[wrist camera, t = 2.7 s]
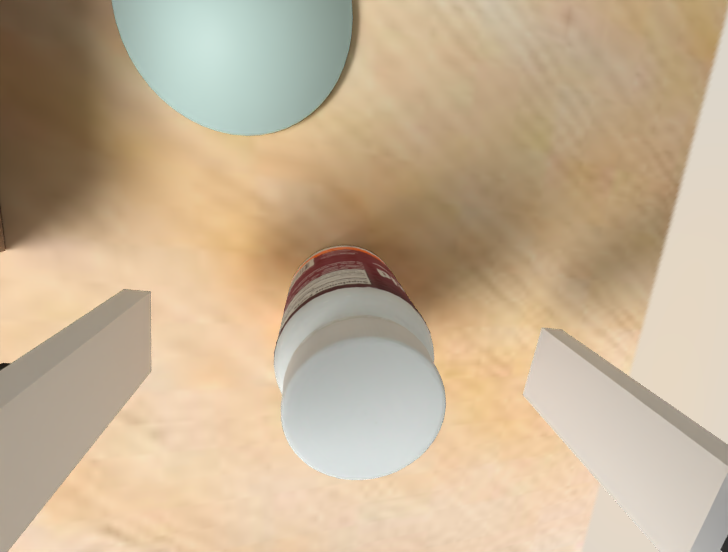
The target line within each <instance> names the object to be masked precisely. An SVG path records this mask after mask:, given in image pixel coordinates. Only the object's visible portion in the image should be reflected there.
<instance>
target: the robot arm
mask: <svg viewBox="0 0 728 552" xmlns="http://www.w3.org/2000/svg"><path fill="white" fill-rule="evenodd" d="M150 372H151V292H150V291H139V290H128V289H123V290H122V291H120V292H119V293H117V294H116V295H114V296H113V297H111V298H110V299H108V300H107V301H105V302H104V303H102V304H101V305H99V306H98V307H96V308H95V309H93V310H92V311H90V312H89V313H87V314H85V315H84V316H82V317H81V318H79V319H78V320H76V321H75V322H73V323H72V324H70V325H69V326H67V327H66V328H64V329H63V330H61V331H60V332H58V333H57V334H55V335H54V336H52V337H51V338H49V339H48V340H46V341H44V342H43V343H41V344H40V345H38V346H37V347H35V348H34V349H32V350H31V351H29V352H28V353H26V354H25V355H23V356H22V357H20V358H19V359H17V360H16V361H14V362H13V363H11V364H10V363H2V364H0V552H8V551H9V549H10V548H11V547H12V546H13V544H14V543H15V542H16V541H17V539H18V538H19V537H20V536H21V534H22V533H23V532H24V531H25V529H26V528H27V527H28V526H29V524H30V523H31V522H32V520H33V519H34V518H35V517H36V515H37V514H38V513H39V512H40V510H41V509H42V508H43V507H44V505H45V504H46V503H47V502H48V500H49V499H50V498H51V497H52V495H53V494H54V493H55V492H56V490H57V489H58V488H59V487H60V485H61V484H62V483H63V482H64V480H65V479H66V478H67V477H68V475H69V474H70V473H71V471H72V470H73V469H74V468H75V466H76V465H77V464H78V463H79V461H80V460H81V459H82V458H83V456H84V455H85V454H86V453H87V451H88V450H89V449H90V448H91V446H92V445H93V444H94V443H95V441H96V440H97V439H98V438H99V436H100V435H101V434H102V433H103V431H104V430H105V429H106V428H107V426H108V425H109V424H110V422H111V421H112V420H113V419H114V417H115V416H116V415H117V414H118V412H119V411H120V410H121V409H122V407H123V406H124V405H125V404H126V402H127V401H128V400H129V399H130V397H131V396H132V395H133V394H134V392H135V391H136V390H137V389H138V387H139V386H140V385H141V384H142V382H143V381H144V380H145V379H146V377H147V376H148V375H149V373H150ZM523 396H524V397H525V398H526V399H527V400H528V402H529V403H530V404H531V405H532V406H533V407H534V408H535V410H536V411H537V412H538V413H539V414H540V415H541V416H542V418H543V419H544V420H545V421H546V422H547V423H548V424H549V426H550V427H551V428H552V429H553V430H554V431H555V432H556V434H557V435H558V436H559V437H560V438H561V439H562V440H563V442H564V443H565V444H566V445H567V446H568V447H569V449H570V450H571V451H572V452H573V453H574V454H575V455H576V457H577V458H578V459H579V460H580V461H581V462H582V463H583V465H584V466H585V467H586V468H587V469H588V470H589V471H590V473H591V474H592V475H593V476H594V477H595V478H596V479H597V481H598V482H599V483H600V484H601V485H602V486H603V487H604V488H605V490H606V491H607V492H608V493H609V494H610V495H611V497H612V498H613V499H614V500H615V501H616V502H617V504H618V505H619V506H620V507H621V508H622V509H623V510H624V512H625V513H626V514H627V515H628V516H629V517H630V518H631V519H632V521H633V522H634V523H635V524H636V525H637V526H638V528H639V529H640V530H641V531H642V532H643V533H644V534H645V536H646V537H647V538H648V539H649V540H650V541H651V542H652V543H653V545H654V546H655V547H656V548H657V549H658V551H659V552H721V551H722V552H728V444H726V443H724V442H723V441H722V440H720V439H719V438H717V437H716V436H715V435H713V434H712V433H710V432H709V431H707V430H706V429H704V428H703V427H702V426H700V425H699V424H697V423H696V422H694V421H693V420H691V419H690V418H689V417H687V416H686V415H684V414H683V413H681V412H680V411H678V410H677V409H675V408H674V407H673V406H671V405H670V404H668V403H667V402H666V401H664V400H663V399H661V398H660V397H658V396H657V395H655V394H654V393H652V392H651V391H650V390H648V389H647V388H645V387H644V386H642V385H641V384H640V383H638V382H637V381H635V380H634V379H632V378H631V377H629V376H628V375H627V374H625V373H624V372H622V371H621V370H619V369H618V368H616V367H615V366H614V365H612V364H611V363H609V362H608V361H606V360H605V359H604V358H602V357H601V356H599V355H598V354H596V353H595V352H593V351H592V350H591V349H589V348H588V347H586V346H585V345H583V344H582V343H580V342H579V341H578V340H576V339H575V338H573V337H572V336H570V335H569V334H567V333H566V332H565V331H563V330H562V329H552V328H542V329H541V333H540V336H539V340H538V343H537V347H536V350H535V354H534V357H533V361H532V364H531V368H530V371H529V375H528V378H527V382H526V385H525V389H524V392H523Z"/></svg>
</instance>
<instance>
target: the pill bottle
mask: <svg viewBox="0 0 728 552" xmlns="http://www.w3.org/2000/svg"><path fill="white" fill-rule="evenodd" d="M274 370H275V375H276V380H277V383H278V386H279V389H280V391H281V393H282V401H281V422H282V427H283V431H284V434H285V436H286V439H287V441H288V443H289V445H290V446H291V448H292V449H293V451H294V452H295V453H296V454H297V455H298V457H299V458H300V459H302V460H303V461H304V462H305V463H306V464H307V465H309V466H310V467H312V468H313V469H315V470H317V471H319V472H321V473H324V474H326V475H329V476H333V477H336V478H339V479H349V480H364V479H374V478H379V477H382V476H386V475H389V474H392V473H394V472H397V471H399V470H401V469H402V468H404V467H406V466H407V465H409V464H411V463H412V462H414V461H415V460H416V459H418V458H419V457H420V456H421V455H422V454H423V453H424V452H425V451H426V450H427V449H428V448H429V446H430V445H431V444H432V443H433V441H434V440H435V438H436V436H437V434H438V432H439V430H440V428H441V426H442V423H443V420H444V415H445V408H446V398H445V390H444V385H443V382H442V379H441V376H440V374H439V372H438V370H437V368H436V366H435V364H434V349H433V343H432V339H431V336H430V331H429V329H428V327H427V325H426V322H425V321H424V319H423V318H422V316H421V314H420V313H419V312H418V311H417V309H416V308H415V307H414V305H413V304H412V302H411V301H410V299H409V298H408V296H407V294H406V293H405V291H404V290H403V288H402V287H401V285H400V284H399V282H398V281H397V279H396V278H395V276H394V275H393V274H392V272H391V271H390V269H389V268H388V267H387V265H386V264H385V263H384V262H383V261H382V260H381V259H380V258H379V257H378V256H377V255H375V254H373V253H372V252H370V251H368V250H366V249H363V248H360V247H356V246H344V245H342V246H333V247H329V248H325V249H323V250H320V251H318V252H316V253H314V254H313V255H312V256H310V257H309V258H308V259H306V260H305V261H304V262H303V263H302V265H301V266H300V267H299V268H298V270H297V271H296V273H295V275H294V277H293V279H292V282H291V285H290V288H289V292H288V296H287V301H286V305H285V308H284V314H283V318H282V322H281V327H280V331H279V336H278V340H277V342H276V347H275V351H274Z"/></svg>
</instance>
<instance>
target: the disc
mask: <svg viewBox="0 0 728 552" xmlns="http://www.w3.org/2000/svg"><path fill="white" fill-rule="evenodd" d="M112 6H113V11H114V15H115V20H116V24H117V27H118V30H119V33H120V36H121V39H122V42H123V44H124V46H125V48H126V50H127V52H128V55H129V57H130V58H131V60H132V62H133V63H134V65H135V67H136V68H137V70H138V72H139V73H140V75H141V76H142V77H143V78H144V80H145V81H146V82H147V84H148V85H149V86H150V87H151V88H152V89H153V91H154V92H155V93H156V94H157V95H158V96H159V97H160V98H161V99H162V100H163V101H165V102H166V103H167V104H168V105H169V106H171V107H172V108H173V109H174V110H176V111H177V112H179V113H180V114H182V115H183V116H185V117H186V118H188V119H190V120H192V121H194V122H196V123H198V124H200V125H202V126H204V127H207V128H210V129H213V130H215V131H219V132H223V133H228V134H233V135H244V136H252V135H264V134H269V133H274V132H277V131H280V130H283V129H286V128H289V127H291V126H292V125H294V124H296V123H298V122H300V121H302V120H303V119H304V118H306V117H307V116H309V115H310V114H311V113H312V112H313V111H315V110H316V109H317V108H318V107H319V106H320V105H321V104H322V103H323V101H324V100H325V99H326V98H327V96H328V95H329V94H330V93H331V91H332V89H333V88H334V86H335V84H336V83H337V81H338V79H339V77H340V74H341V72H342V70H343V68H344V65H345V61H346V58H347V55H348V52H349V47H350V41H351V35H352V20H353V15H352V0H112Z"/></svg>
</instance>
